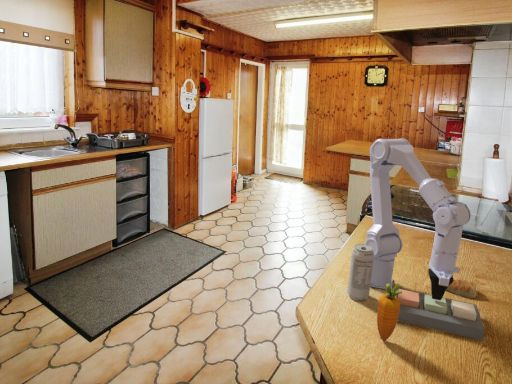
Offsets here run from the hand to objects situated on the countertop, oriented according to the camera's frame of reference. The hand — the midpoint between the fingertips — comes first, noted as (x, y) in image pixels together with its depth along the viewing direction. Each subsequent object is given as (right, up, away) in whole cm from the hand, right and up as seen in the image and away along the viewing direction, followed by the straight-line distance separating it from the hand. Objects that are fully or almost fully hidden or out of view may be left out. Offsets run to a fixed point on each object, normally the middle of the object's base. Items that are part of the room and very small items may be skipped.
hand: (436, 298), depth 95 cm
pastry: (+15, -3, +15) cm, 21 cm away
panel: (0, -5, +1) cm, 5 cm away
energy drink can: (-18, -2, +10) cm, 20 cm away
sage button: (0, -4, +1) cm, 4 cm away
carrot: (-17, -7, -9) cm, 20 cm away
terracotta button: (-6, -3, +3) cm, 8 cm away
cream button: (+6, -5, -1) cm, 8 cm away
